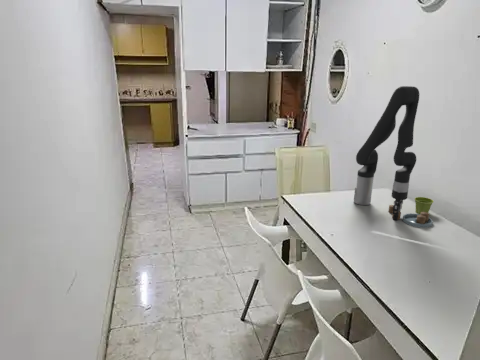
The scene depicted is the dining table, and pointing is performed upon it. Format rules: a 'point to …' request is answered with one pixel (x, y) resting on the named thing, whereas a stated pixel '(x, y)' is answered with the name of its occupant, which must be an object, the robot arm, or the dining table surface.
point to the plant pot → (423, 204)
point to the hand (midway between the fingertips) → (395, 219)
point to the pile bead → (390, 208)
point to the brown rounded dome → (398, 215)
